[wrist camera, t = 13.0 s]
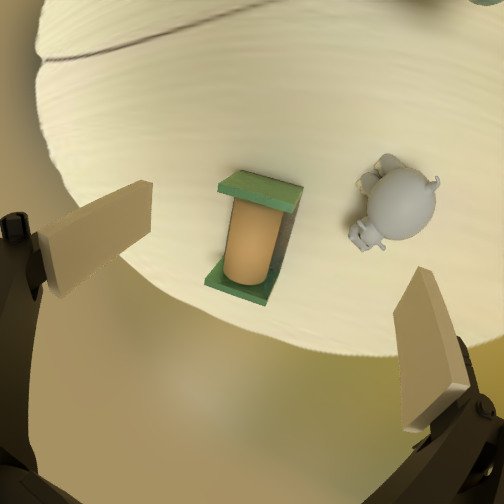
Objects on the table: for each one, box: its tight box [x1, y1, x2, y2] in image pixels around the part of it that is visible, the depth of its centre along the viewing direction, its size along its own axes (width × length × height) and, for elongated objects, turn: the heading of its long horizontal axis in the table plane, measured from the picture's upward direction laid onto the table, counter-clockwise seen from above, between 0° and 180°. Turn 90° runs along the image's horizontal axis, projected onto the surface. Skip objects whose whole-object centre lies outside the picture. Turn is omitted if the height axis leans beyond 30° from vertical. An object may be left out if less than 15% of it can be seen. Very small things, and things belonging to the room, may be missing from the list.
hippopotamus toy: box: [348, 154, 440, 252], centre depth 36 cm, size 11×15×10 cm
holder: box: [204, 170, 304, 306], centre depth 44 cm, size 16×10×9 cm, turn 169°
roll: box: [223, 197, 284, 285], centre depth 44 cm, size 12×7×7 cm, turn 169°
